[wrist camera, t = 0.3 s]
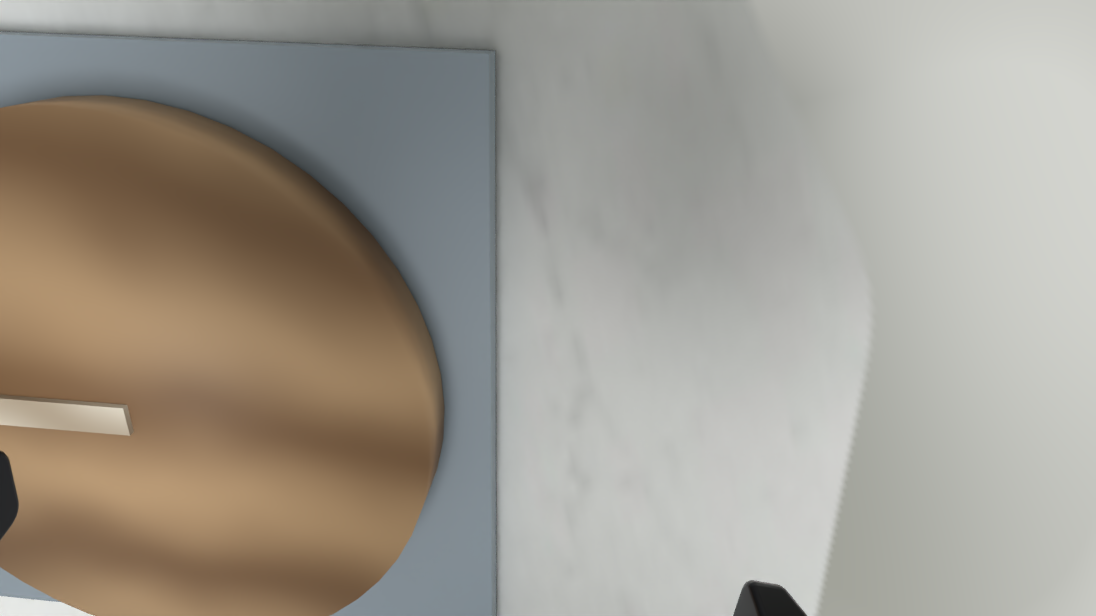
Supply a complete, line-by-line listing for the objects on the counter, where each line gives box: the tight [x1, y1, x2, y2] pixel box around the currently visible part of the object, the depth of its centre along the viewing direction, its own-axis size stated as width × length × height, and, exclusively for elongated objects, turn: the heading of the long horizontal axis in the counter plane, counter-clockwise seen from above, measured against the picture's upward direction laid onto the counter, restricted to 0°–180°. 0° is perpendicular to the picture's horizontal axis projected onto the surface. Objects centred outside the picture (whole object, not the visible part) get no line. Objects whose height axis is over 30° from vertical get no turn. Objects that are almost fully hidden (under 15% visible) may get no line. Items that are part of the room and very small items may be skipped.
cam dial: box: [0, 95, 445, 616], centre depth 21 cm, size 19×19×7 cm
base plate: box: [0, 31, 496, 616], centre depth 24 cm, size 22×22×3 cm
